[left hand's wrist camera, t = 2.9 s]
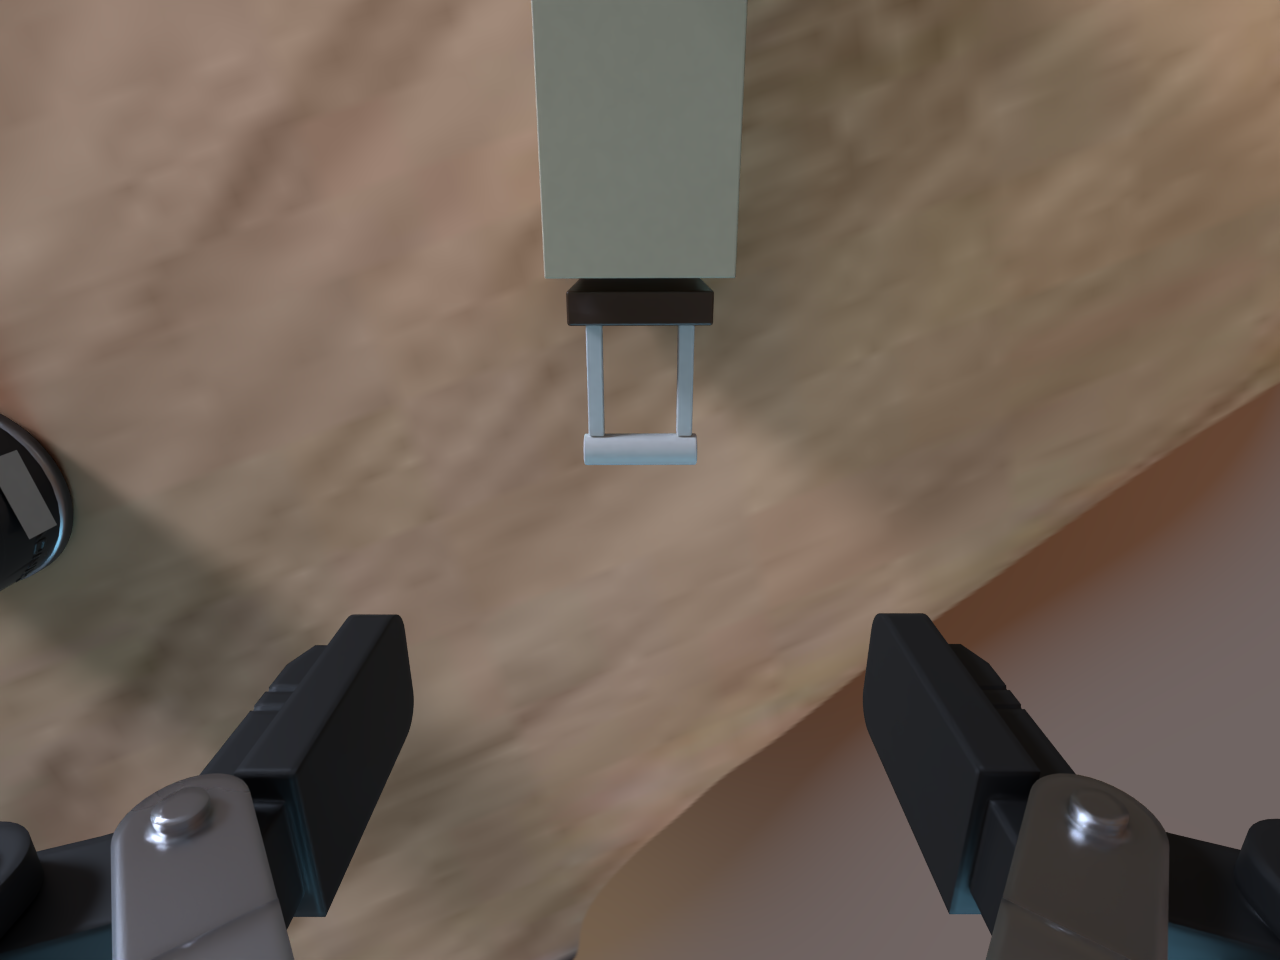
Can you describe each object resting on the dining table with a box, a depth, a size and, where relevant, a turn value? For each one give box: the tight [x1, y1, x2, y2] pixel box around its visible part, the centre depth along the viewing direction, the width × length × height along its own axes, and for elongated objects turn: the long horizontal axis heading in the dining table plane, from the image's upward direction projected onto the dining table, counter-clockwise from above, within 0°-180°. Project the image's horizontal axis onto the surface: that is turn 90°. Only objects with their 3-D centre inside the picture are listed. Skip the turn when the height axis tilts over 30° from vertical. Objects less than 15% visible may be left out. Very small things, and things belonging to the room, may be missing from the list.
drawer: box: [566, 278, 714, 465], centre depth 26 cm, size 22×5×6 cm, turn 0°
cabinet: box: [531, 0, 747, 278], centre depth 24 cm, size 18×6×8 cm, turn 0°
